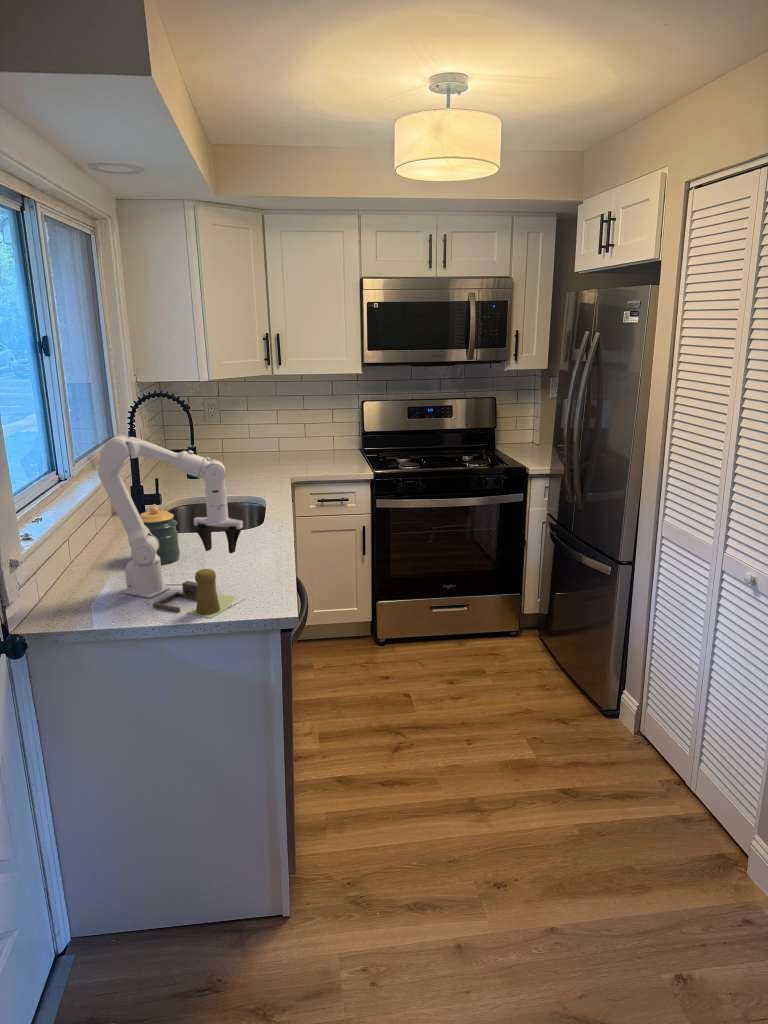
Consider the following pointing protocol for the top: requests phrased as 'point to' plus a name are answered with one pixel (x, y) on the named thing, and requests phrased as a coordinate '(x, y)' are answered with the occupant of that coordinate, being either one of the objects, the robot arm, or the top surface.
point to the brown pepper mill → (206, 592)
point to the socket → (186, 588)
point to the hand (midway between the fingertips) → (220, 551)
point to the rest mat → (223, 603)
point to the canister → (163, 533)
